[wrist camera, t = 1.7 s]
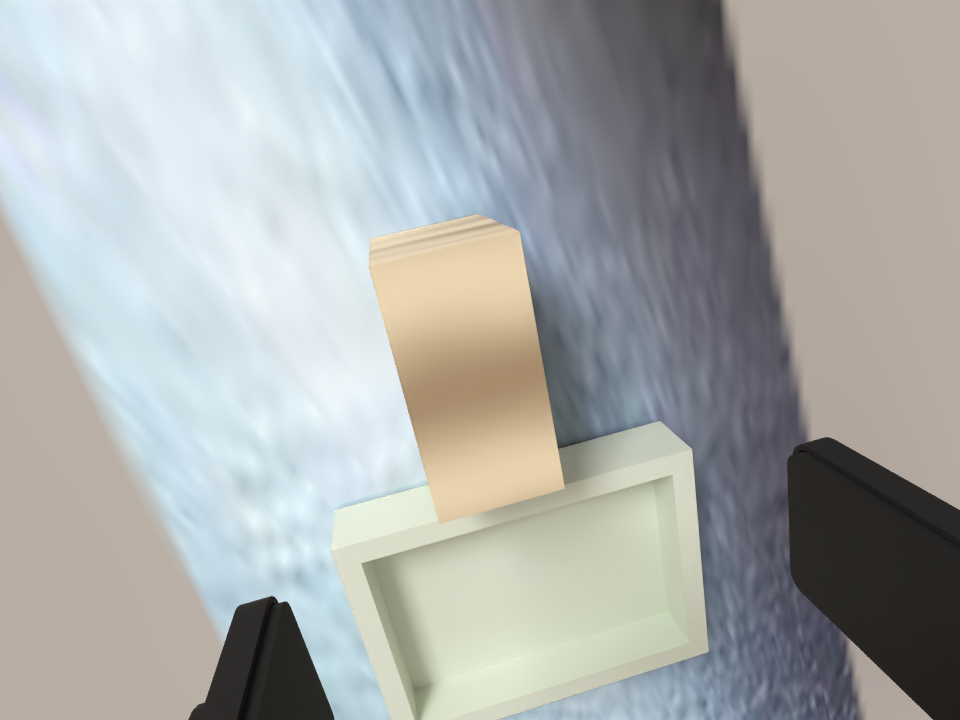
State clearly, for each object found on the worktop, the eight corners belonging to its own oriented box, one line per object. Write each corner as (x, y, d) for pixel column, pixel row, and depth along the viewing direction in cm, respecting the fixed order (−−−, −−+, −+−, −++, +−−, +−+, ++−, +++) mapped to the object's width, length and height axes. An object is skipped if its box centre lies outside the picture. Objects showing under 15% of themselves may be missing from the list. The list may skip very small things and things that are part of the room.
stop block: (370, 238, 23) (368, 266, 16) (478, 214, 23) (519, 231, 17) (422, 434, 26) (439, 524, 19) (517, 409, 26) (564, 488, 20)
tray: (335, 509, 26) (330, 550, 23) (659, 420, 28) (692, 449, 25) (399, 696, 30) (402, 749, 28) (679, 609, 32) (708, 652, 29)
